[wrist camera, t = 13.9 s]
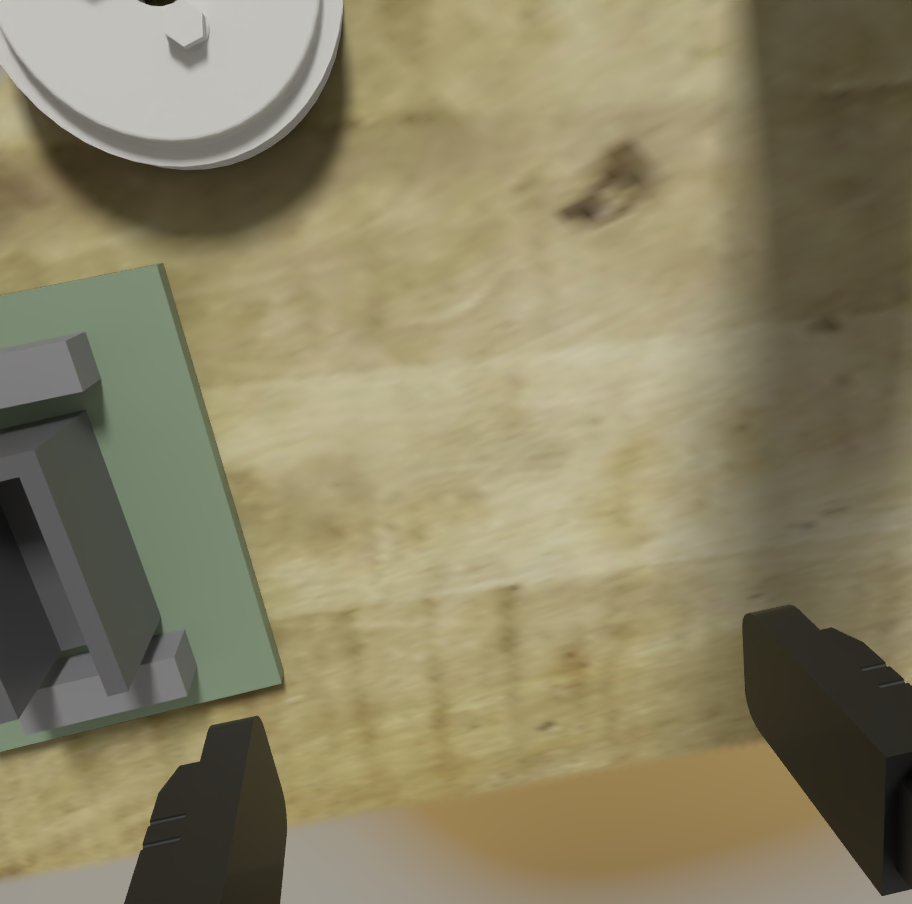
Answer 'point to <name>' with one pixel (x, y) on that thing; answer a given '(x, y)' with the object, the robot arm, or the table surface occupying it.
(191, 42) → the lid
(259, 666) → the chute mount
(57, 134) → the table surface
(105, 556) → the chute
